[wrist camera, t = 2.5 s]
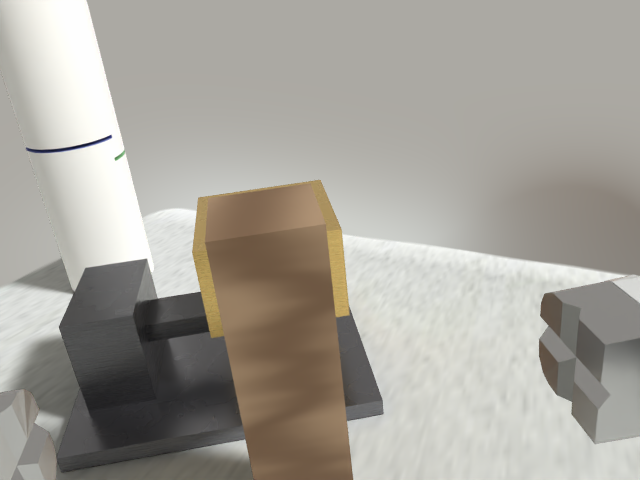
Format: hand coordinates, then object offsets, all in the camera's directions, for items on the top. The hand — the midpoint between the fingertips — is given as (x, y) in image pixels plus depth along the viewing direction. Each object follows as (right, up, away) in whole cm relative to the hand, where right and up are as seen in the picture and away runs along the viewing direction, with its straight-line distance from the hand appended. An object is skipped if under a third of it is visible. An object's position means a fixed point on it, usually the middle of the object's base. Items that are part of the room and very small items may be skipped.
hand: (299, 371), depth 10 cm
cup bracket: (-6, -6, +30) cm, 31 cm away
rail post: (0, -11, +19) cm, 22 cm away
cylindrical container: (-18, -1, +44) cm, 47 cm away
